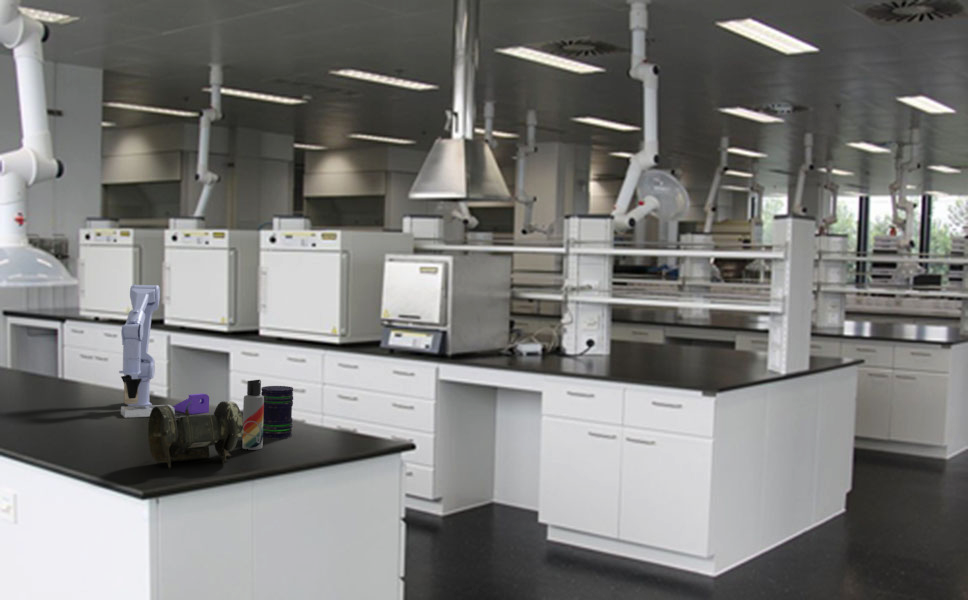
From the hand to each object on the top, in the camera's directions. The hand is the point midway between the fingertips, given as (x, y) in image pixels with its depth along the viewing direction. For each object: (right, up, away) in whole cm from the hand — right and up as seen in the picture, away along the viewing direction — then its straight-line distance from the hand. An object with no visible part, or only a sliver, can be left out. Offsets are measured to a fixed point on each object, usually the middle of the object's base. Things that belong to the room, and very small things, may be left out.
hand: (130, 397), depth 327 cm
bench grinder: (+45, -10, -76) cm, 89 cm away
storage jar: (+58, -9, -35) cm, 68 cm away
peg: (0, -2, 0) cm, 2 cm away
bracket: (+19, -6, +5) cm, 21 cm away
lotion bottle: (+56, -9, -55) cm, 79 cm away
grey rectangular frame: (+8, -5, -6) cm, 11 cm away
